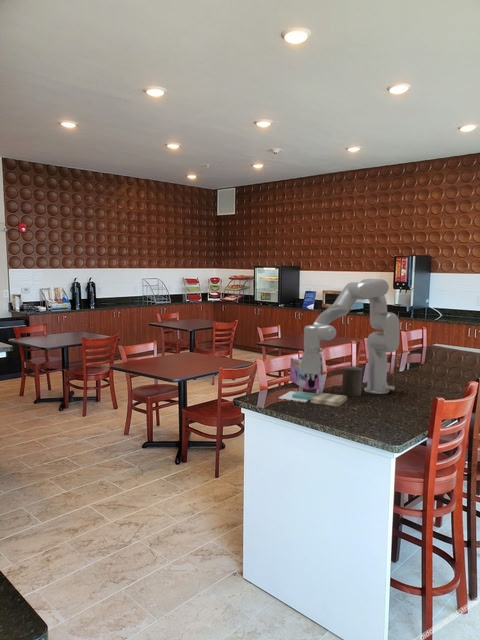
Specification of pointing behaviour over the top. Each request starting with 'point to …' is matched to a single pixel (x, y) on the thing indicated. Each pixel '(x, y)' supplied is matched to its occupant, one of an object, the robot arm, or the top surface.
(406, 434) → the top surface
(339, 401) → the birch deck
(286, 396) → the grey mat
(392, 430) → the top surface
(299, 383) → the pink purple printed box
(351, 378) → the dark brown cylinder
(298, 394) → the teal card
